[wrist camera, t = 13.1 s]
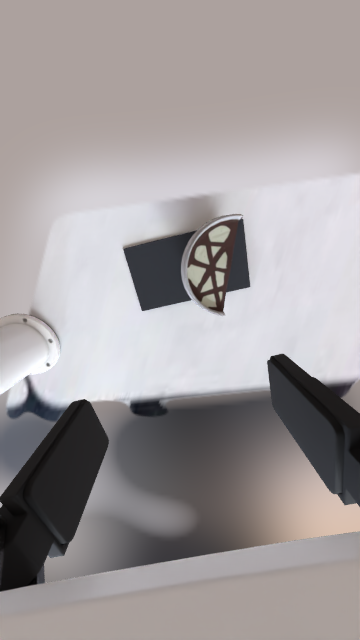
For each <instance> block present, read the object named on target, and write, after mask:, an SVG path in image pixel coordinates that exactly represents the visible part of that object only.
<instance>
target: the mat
mask: <svg viewBox="0 0 360 640" xmlns="http://www.w3.org/2000/svg"><path fill="white" fill-rule="evenodd" d="M196 231H197V230H196ZM196 231H192V232H189V233H185V234H181V235H177V236H173V237H169V238H165V239H161V240H157V241H153V242H149V243H145V244H141V245H137V246H133V247H129V248H125V249H123V250H124V253H125V256H126V260H127V263H128V266H129V269H130V273H131V276H132V279H133V283H134V286H135V289H136V292H137V296H138V299H139V302H140V306H141V309H142V311H145V310H149V309H154V308H158V307H162V306H167V305H171V304H176V303H180V302H185V301H189V300H192V299H191V298H190V297H189V295H188V294H187V292H186V290H185V288H184V285H183V281H182V276H181V262H182V256H183V253H184V250H185V248H186V246H187V244H188V242H189V240H190V239H191V237H192V236H193V234H194V233H195V232H196ZM247 287H250V281H249V271H248V262H247V252H246V243H245V233H244V224H243V219H240V220H239V221H238V227H237V233H236V238H235V244H234V250H233V257H232V264H231V270H230V275H229V280H228V285H227V290H226V292H229V291H234V290H238V289H243V288H247Z"/></svg>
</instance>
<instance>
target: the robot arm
mask: <svg viewBox="0 0 360 640" xmlns="http://www.w3.org/2000/svg"><path fill="white" fill-rule="evenodd" d="M59 356H60V345H59V341H58V339H57V336H56V335H55V333H54V332H53V330H52V329H51V328H50V327H49V326H48V325H47V324H45V323H44V322H43V321H41V320H39V319H38V318H35V317H33V316H30V315H26V314H12V315H9V316H5V317H3V318H1V319H0V395H1V394H2V393H4V392H5V391H7V390H8V389H9V388H11V387H12V386H13V385H15V384H16V383H18V382H19V381H20V380H22V379H23V378H24V377H26V376H27V375H28V374H39V373H43V372H45V371H47V370H49V369H50V368H51V367H53V366H54V365H55V364H56V362H57V361H58V359H59ZM267 364H268V373H269V382H270V390H271V399H272V405H273V407H274V410H275V411H276V413H277V414H278V416H279V417H280V419H281V420H282V421H283V423H284V424H285V426H286V427H287V429H288V430H289V432H290V433H291V435H292V436H293V438H294V439H295V440H296V442H297V443H298V445H299V446H300V448H301V449H302V451H303V452H304V454H305V455H306V457H307V458H308V460H309V461H310V462H311V464H312V466H313V467H314V469H315V470H316V472H317V473H318V474H319V476H320V477H321V479H322V480H323V482H324V483H325V485H326V486H327V488H328V489H329V490H330V491H331V493H333V494H338V496H339V497H340V499H341V500H342V502H343V503H344V505H348V504H354V503H357V504H358V505H359V506H360V413H358V412H357V411H356V410H355V409H353V408H352V407H351V406H349V405H348V404H347V403H346V402H345V401H343V400H342V399H341V398H340V397H339V396H337V395H336V394H335V393H334V392H332V391H331V390H330V389H329V388H328V387H326V386H325V385H324V384H323V383H321V382H320V381H319V380H317V379H316V378H314V377H311V376H310V375H309V374H308V373H306V372H305V371H304V370H303V369H302V368H300V367H299V366H298V365H297V364H296V363H294V362H293V361H292V360H291V359H289V358H288V357H287V356H286V355H284V354H279V355H275V356H271V357H270V360H268V361H267ZM108 444H109V440H108V437H107V435H106V433H105V431H104V429H103V427H102V425H101V423H100V421H99V419H98V417H97V415H96V413H95V411H94V409H93V407H92V405H91V403H90V402H89V401H87V400H85V399H83V400H78V401H74V402H72V403H71V404H70V405H69V407H68V408H67V409H66V411H65V412H64V413H63V415H62V416H61V417H60V419H59V420H58V421H57V423H56V424H55V425H54V427H53V428H52V429H51V431H50V432H49V433H48V435H47V436H46V437H45V438H44V440H43V441H42V442H41V444H40V445H39V446H38V448H37V449H36V450H35V452H34V453H33V454H32V456H31V457H30V458H29V460H28V461H27V462H26V464H25V465H24V466H23V467H22V469H21V470H20V471H19V473H18V474H17V475H16V477H15V478H14V479H13V481H12V482H11V483H10V485H9V486H8V487H7V489H6V490H5V491H4V493H3V494H2V495H1V496H0V502H1V503H2V504H3V505H2V507H1V508H0V640H360V532H352V533H344V534H337V535H331V536H323V537H317V538H309V539H301V540H294V541H288V542H283V543H276V544H271V545H264V546H258V547H252V548H246V549H240V550H234V551H227V552H221V553H216V554H209V555H203V556H197V557H191V558H186V559H180V560H174V561H168V562H162V563H156V564H150V565H145V566H139V567H133V568H127V569H122V570H116V571H110V572H105V573H98V574H93V575H88V576H82V577H76V578H70V579H65V580H60V581H54V582H48V583H45V579H44V562H45V560H46V558H47V555H48V556H49V557H50V558H52V557H58V556H64V554H65V552H66V549H67V547H68V544H69V542H70V541H71V540H72V539H73V537H74V535H75V533H76V530H77V527H78V525H79V522H80V519H81V516H82V514H83V511H84V509H85V506H86V503H87V500H88V498H89V495H90V493H91V490H92V487H93V484H94V482H95V479H96V477H97V474H98V471H99V469H100V466H101V463H102V461H103V458H104V456H105V453H106V450H107V447H108Z"/></svg>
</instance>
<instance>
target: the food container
mask: <svg viewBox="0 0 360 640" xmlns="http://www.w3.org/2000/svg"><path fill="white" fill-rule="evenodd" d="M242 217H243V215H241V214H232V215H226V216H221V217H218V218H215V219H213V220H211V221H209V222H207V223H206V224H204V225H203V226H202V227H200V228H199V229H198V230H197V231H196V232H195V233H194V234H193V236H192V237H191V239H190V240H189V242H188V244H187V246H186V248H185V250H184V253H183V256H182V262H181V276H182V281H183V285H184V288H185V290H186V292H187V294H188V295H189V297H190V298H191V299H192V300H193V301H194V302H195V303H196V304H197V305H198V306H199V307H201V308H202V309H204V310H206V311H208V312H210V313H213V314H216V315H221V316H224V315H225V314H224V312H223V308H224V301H225V295H226V290H227V285H228V280H229V275H230V270H231V264H232V257H233V250H234V244H235V238H236V233H237V227H238V221H239V220H240V219H241V218H242Z"/></svg>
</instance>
